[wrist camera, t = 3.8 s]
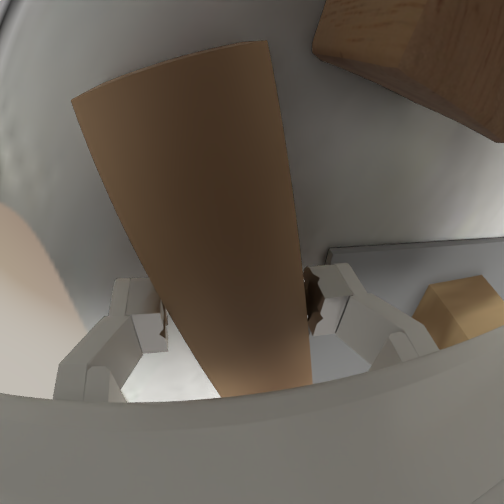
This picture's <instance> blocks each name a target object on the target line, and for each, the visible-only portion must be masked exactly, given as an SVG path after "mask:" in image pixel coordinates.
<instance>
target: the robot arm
mask: <svg viewBox="0 0 504 504" xmlns="http://www.w3.org/2000/svg"><path fill="white" fill-rule="evenodd" d="M303 277H304V280H305V282H304V289H305V299H306V309H307V315H308V326H309V328H310V331H311V333H312V336H321V335H328V334H335V333H336V334H335V335H337V336H338V337H339V338H340V339H341V340H342V341H344V342H345V343H346V344H347V345H348V346H349V347H351V348H352V349H353V350H354V351H355V352H356V353H358V354H359V355H360V356H361V357H362V358H363V359H365V360H366V361H367V362H368V363H369V364H370V365H372V366H371V367H370V369H369V370H368V372H365V373H361V374H357V375H352V376H348V377H344V378H339V379H335V380H330V381H326V382H321V383H316V384H311V385H306V386H300V387H295V388H289V389H283V390H277V391H270V392H263V393H256V394H249V395H241V396H232V397H223V398H213V399H201V400H187V401H170V402H135V403H127V401H126V399H125V397H124V396H123V394H122V392H121V388H122V386H123V385H124V383H125V382H126V380H127V379H128V377H129V375H130V374H131V372H132V371H133V369H134V368H135V366H136V365H137V363H138V361H139V360H140V358H141V357H142V355H143V354H142V353H155V352H168V332H167V327H166V326H167V325H168V315H167V309H166V308H165V306H164V304H163V302H162V301H161V298H160V297H159V295H158V293H157V292H156V290H155V288H154V286H153V284H152V282H151V281H150V279H149V277H137V278H117V279H116V280H115V282H114V287H113V292H112V298H111V303H110V309H109V315H108V316H104V317H103V318H102V319H101V320H100V321H99V322H98V323H97V324H96V325H95V326H94V327H93V328H92V329H91V330H90V331H89V333H88V334H87V335H86V336H85V337H84V338H83V339H82V340H81V341H80V342H79V343H78V344H77V345H76V346H75V347H74V349H73V350H72V351H71V352H70V353H69V354H68V355H67V356H66V357H65V358H64V359H63V360H62V362H61V363H60V364H59V367H58V372H57V378H56V383H55V389H54V395H53V399H42V398H33V397H24V396H16V395H9V394H3V393H0V504H504V325H503V326H501V327H498V328H496V329H494V330H491V331H489V332H486V333H484V334H482V335H479V336H477V337H474V338H472V339H469V340H466V341H464V342H461V343H458V344H456V345H453V346H450V347H447V348H445V349H442V350H439V348H438V347H437V345H436V343H435V342H434V340H433V339H432V337H431V335H430V334H429V332H428V331H427V329H426V328H425V326H424V325H423V324H421V323H420V322H418V321H417V320H415V319H413V318H412V317H410V316H408V315H407V314H405V313H403V312H402V311H400V310H399V309H397V308H395V307H394V306H392V305H390V304H389V303H387V302H385V301H384V300H382V299H380V298H379V297H377V296H375V295H374V294H372V293H369V294H368V293H367V291H366V290H365V288H364V287H363V285H362V284H361V282H360V280H359V279H358V277H357V276H356V274H355V273H354V271H353V269H352V268H351V266H350V265H349V264H348V263H337V264H330V265H319V266H307V267H306V268H305V269H304V273H303Z"/></svg>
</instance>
